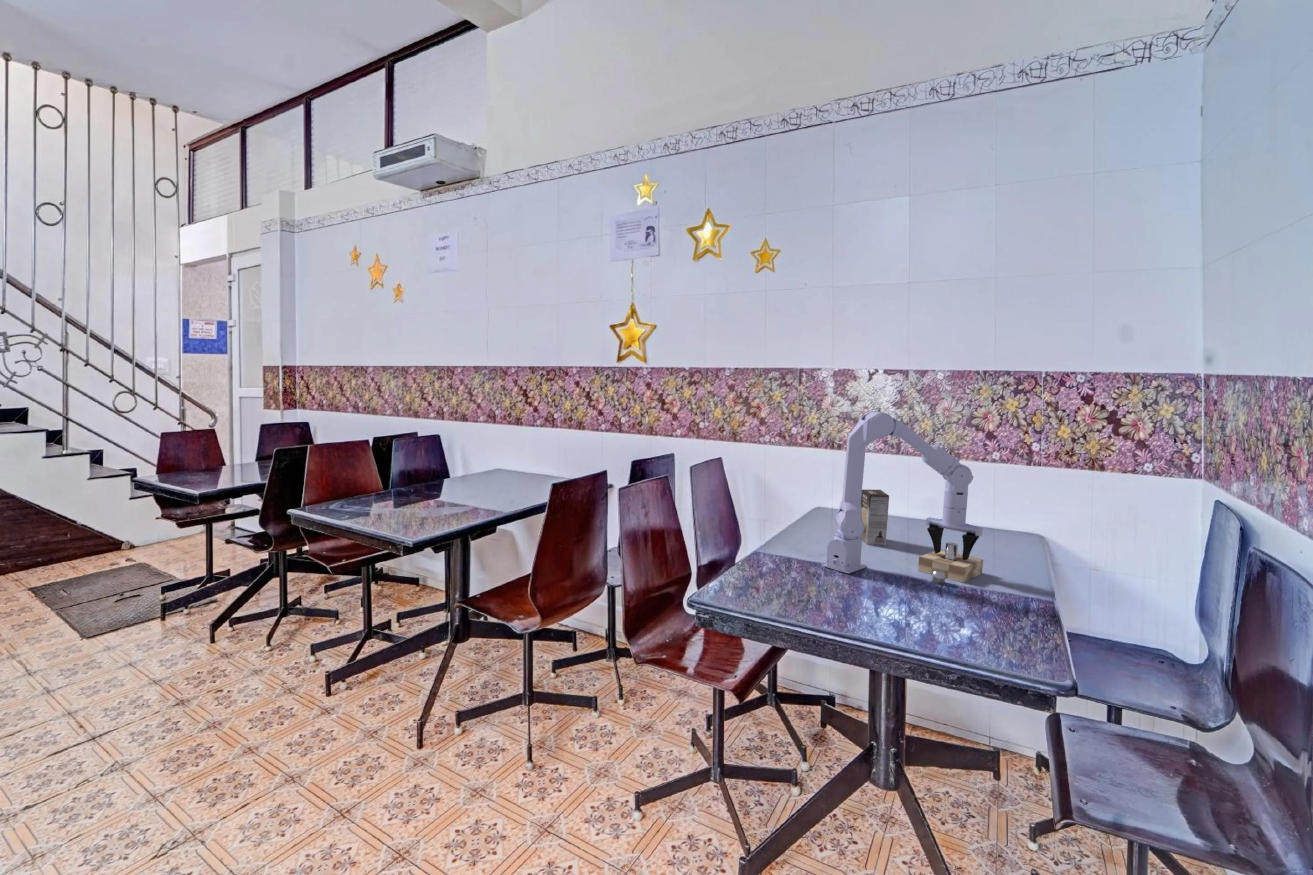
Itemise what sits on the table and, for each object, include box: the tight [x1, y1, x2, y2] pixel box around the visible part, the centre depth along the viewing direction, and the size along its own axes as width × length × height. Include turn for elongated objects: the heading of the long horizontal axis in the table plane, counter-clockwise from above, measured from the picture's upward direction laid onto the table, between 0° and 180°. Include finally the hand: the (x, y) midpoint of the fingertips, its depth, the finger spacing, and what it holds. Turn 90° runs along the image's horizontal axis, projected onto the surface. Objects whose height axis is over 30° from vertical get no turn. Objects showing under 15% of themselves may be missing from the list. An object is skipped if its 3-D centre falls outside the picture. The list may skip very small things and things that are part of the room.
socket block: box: [917, 549, 984, 584], centre depth 171 cm, size 12×12×4 cm
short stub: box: [931, 570, 946, 586], centre depth 163 cm, size 3×3×3 cm
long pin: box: [944, 541, 959, 562], centre depth 171 cm, size 3×3×8 cm
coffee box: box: [861, 489, 890, 546], centre depth 200 cm, size 9×6×16 cm
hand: (951, 555), depth 171 cm, fingers open, 7 cm apart
